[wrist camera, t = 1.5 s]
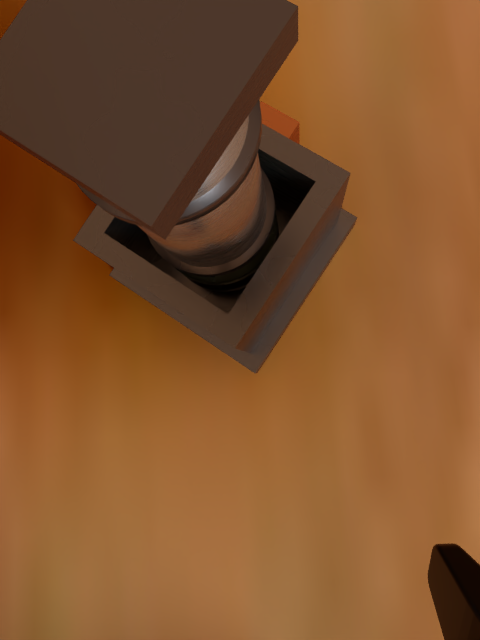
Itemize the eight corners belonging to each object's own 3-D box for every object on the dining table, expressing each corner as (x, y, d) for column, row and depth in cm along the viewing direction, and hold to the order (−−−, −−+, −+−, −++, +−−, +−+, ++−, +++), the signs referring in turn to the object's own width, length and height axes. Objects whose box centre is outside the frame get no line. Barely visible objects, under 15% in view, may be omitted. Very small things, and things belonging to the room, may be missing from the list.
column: (300, 229, 20) (302, 5, 8) (243, 316, 20) (151, 230, 7) (215, 178, 20) (92, -101, 8) (159, 262, 20) (-46, 103, 8)
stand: (359, 217, 21) (383, 156, 15) (257, 373, 20) (240, 374, 15) (214, 133, 22) (183, 47, 16) (117, 279, 22) (50, 245, 16)
